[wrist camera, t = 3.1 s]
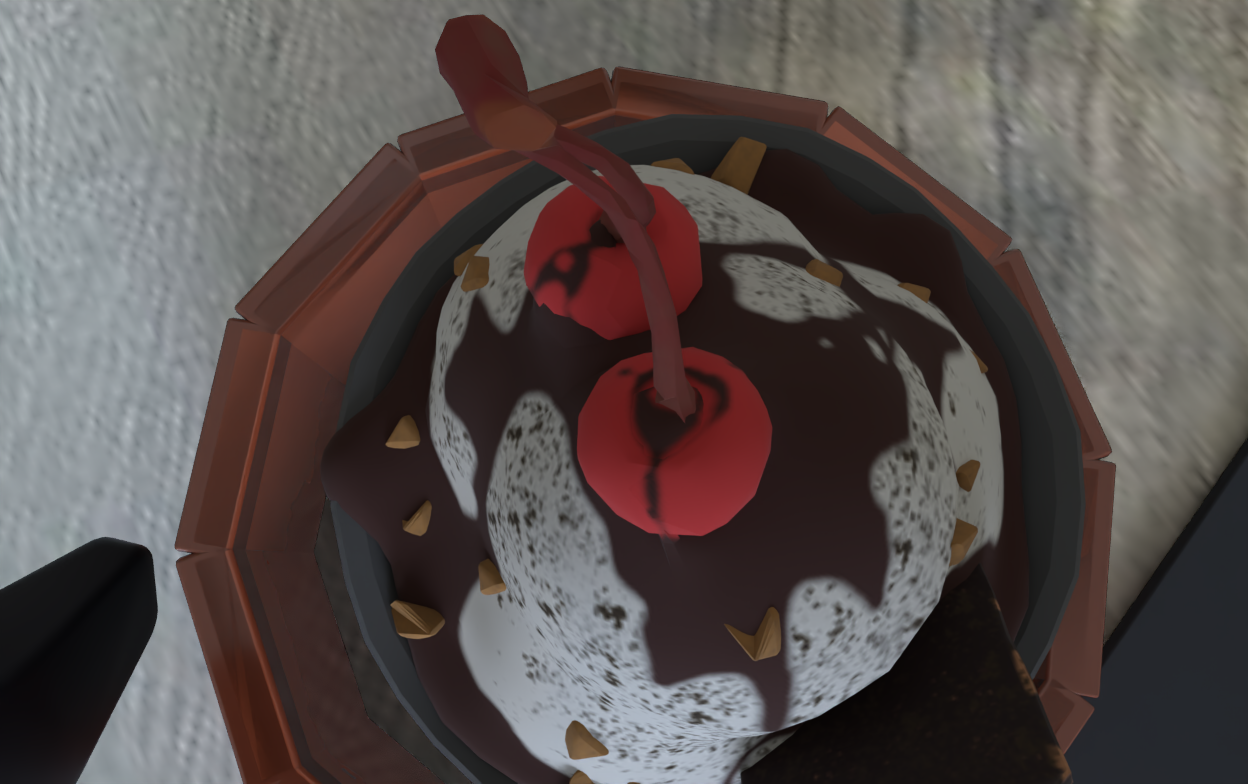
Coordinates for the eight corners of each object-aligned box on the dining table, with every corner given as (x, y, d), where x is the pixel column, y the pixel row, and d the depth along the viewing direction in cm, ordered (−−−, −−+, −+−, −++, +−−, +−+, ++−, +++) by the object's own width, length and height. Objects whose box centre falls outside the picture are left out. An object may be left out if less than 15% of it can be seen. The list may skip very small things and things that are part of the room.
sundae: (480, 330, 19) (153, -442, 4) (827, 364, 19) (1610, -268, 5) (438, 685, 18) (-187, 1223, 3) (806, 717, 18) (1761, 1361, 4)
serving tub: (696, 1063, 17) (737, 1236, 13) (129, 572, 18) (-16, 574, 14) (1119, 469, 19) (1280, 441, 15) (590, 57, 20) (593, -84, 16)
